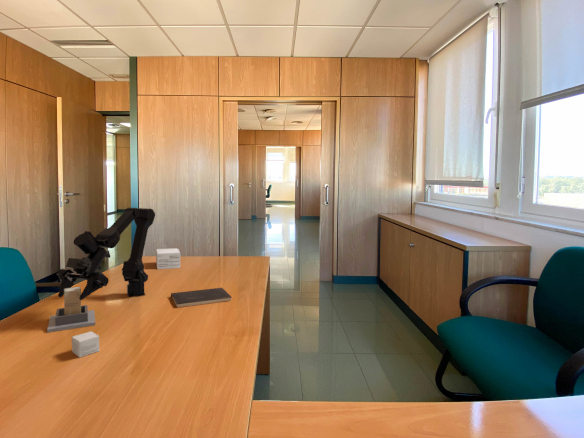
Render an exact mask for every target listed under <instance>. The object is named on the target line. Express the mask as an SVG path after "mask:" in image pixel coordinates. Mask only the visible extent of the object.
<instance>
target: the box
mask: <svg viewBox="0 0 584 438" xmlns="http://www.w3.org/2000/svg"><path fill="white" fill-rule="evenodd" d="M81 289H82V288H81V287H80V286H76V287H73V286H72V287H71V288H65V289H64V295H63V298H64V299H63V300H64V301H63V302H64V305H63V308H64V316H65V315H72V314H79V313H81V306H82V300H80V299H79V298H80V295H81V294H82V290H81Z"/></svg>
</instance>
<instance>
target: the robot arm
mask: <svg viewBox="0 0 584 438" xmlns="http://www.w3.org/2000/svg"><path fill="white" fill-rule="evenodd" d="M155 217H156V212H155V211H154V209H153V208H145V207H144V208H142V207H139V208H137V207H126V208H125V210H124V211H123V213H122V214H121V215H120V216H119V217H118V218H117V219H116V220H115V221H114V222H113V224H112V225H110V226H109V227H108V228H106V229H103V230H101V231H100V232H99V233H97V234H96V235H95V236H94V235H93V233H92V232H91V231H90V230H89V231H88V230H87V231H86V230H85V231H84V232H83V233H81V234H78V236H76V237H75V238H74V240H73V245H74V246H75V247H77V248H78V249H79V250H80V251H81V252H82V253H83V254H84V255H86V256H85V257H82V258H73V257H72V258H71V257H68V258H67V261H66V263H65V264H66V265H65V268H59V269H58V271H57V272H56V276H58V278H59V279H60V285H59V291H58V295H57V296H58V298H62V297H64V289H65V288H73V286H74V285H75V282H76V281H77V280H82V281H83V280H84V281H86V284H85V287H84V288H83V290H82V291H81V295H80V298H79V299H80V300H81V301H83V300H84V299H85V298H87V297H88V296H90V295H92V294H93V293H94V292H96V291H98V290H99V289H103V287H107V285H108V284H109V278H108V277H107V276H106V275H105V274H104V273H103V272H102V271H101V269H102V267H101V264H102V263H103V261H104V260H105V258H109V259H110V258H111V253H110V251H109V250H106V249H114V248H115V247H116V246H117V245H118V243H119V242H120V240H121V235H122V234H123V233H124V231H125V230H126V229H127V228H128V227H129V226H130V225H131V223H132V222H134V224H135V230H134V231H135V232H134V236H133V242H132V245H131V251H130V255H129V258H128V259H127V260H124V261H123V263H122V264H123V265H122V268H121V275H122V277H123V280H124V282H127V284H126V294H127V295H128V297H129V298H133V297H140V296H141V297H142V296H145V295H146V293H145V283H146V282H147V281H148V279H149V275H148V274H147V272H145V264H144V262H143V255H144V251H145V245H146V240H147V235H148V231H149V228H150V227H151V226H152V225H153V224H154V222H155V221H154V220H155V219H156V218H155ZM68 268H69V269H68ZM70 268H71V269H72V270H73V271H72V270H71V269H70Z"/></svg>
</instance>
